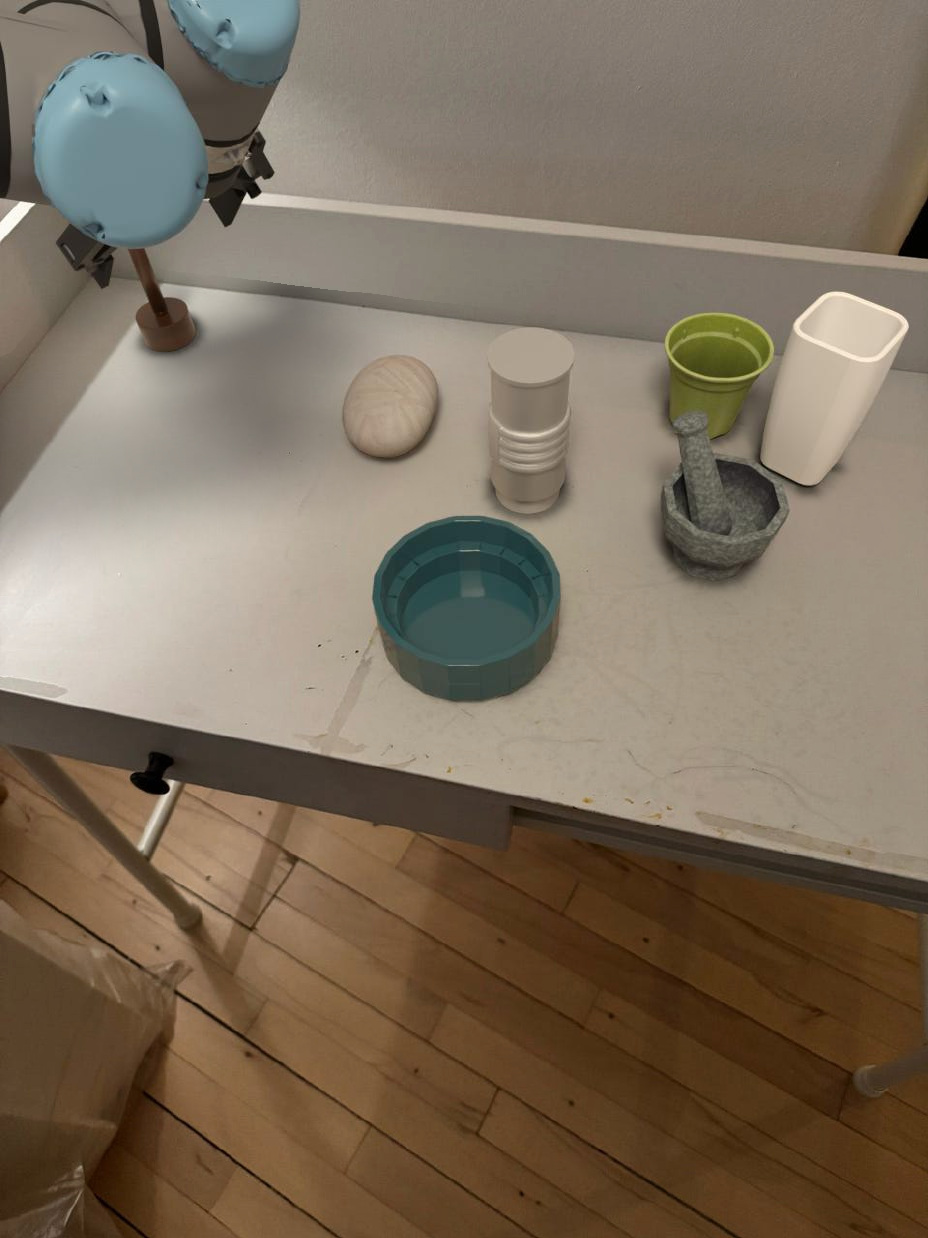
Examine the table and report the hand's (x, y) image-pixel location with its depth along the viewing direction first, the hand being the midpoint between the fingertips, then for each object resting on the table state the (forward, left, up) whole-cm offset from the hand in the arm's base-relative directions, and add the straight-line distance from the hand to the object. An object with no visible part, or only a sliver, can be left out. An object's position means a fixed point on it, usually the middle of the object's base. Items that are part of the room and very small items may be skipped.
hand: (159, 242), depth 78 cm
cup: (+59, -17, -14) cm, 63 cm away
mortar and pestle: (+49, -27, -14) cm, 58 cm away
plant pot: (+51, -11, -14) cm, 54 cm away
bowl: (+29, -35, -13) cm, 48 cm away
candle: (+34, -20, -14) cm, 42 cm away
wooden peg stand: (-5, +4, -13) cm, 15 cm away
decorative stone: (+21, -11, -14) cm, 28 cm away
